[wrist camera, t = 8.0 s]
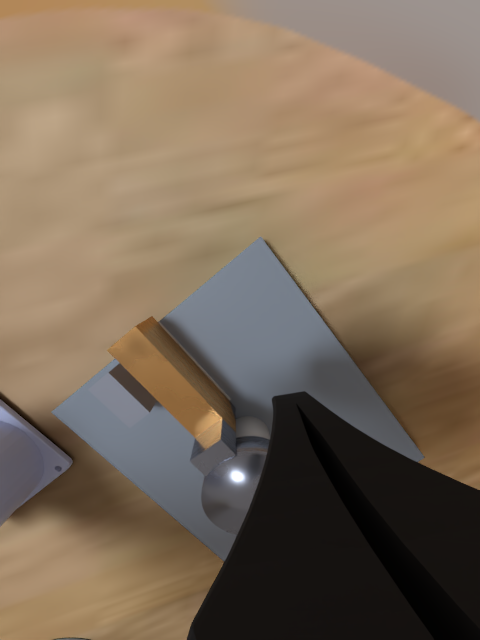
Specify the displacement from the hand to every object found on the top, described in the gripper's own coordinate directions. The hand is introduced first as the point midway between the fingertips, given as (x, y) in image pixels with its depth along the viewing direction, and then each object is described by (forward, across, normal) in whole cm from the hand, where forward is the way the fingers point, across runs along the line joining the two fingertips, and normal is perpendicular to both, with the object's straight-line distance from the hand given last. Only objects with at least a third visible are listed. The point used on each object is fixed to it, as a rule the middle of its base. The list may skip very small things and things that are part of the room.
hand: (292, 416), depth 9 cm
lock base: (+7, +2, +6) cm, 10 cm away
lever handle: (+6, +4, +2) cm, 8 cm away
